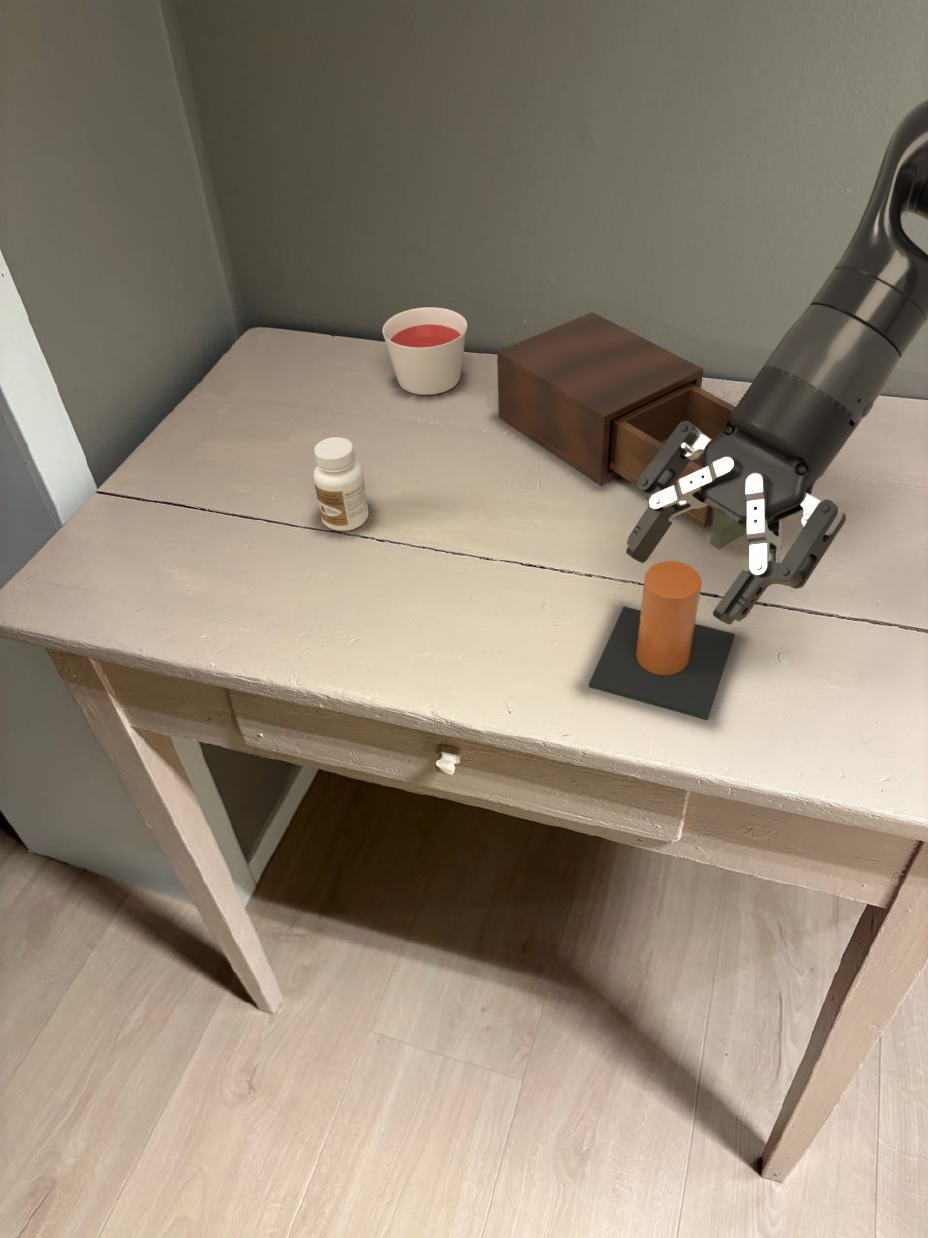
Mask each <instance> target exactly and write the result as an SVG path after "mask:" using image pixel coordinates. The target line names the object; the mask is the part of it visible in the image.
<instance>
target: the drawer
mask: <svg viewBox="0 0 928 1238" xmlns="http://www.w3.org/2000/svg"><path fill="white" fill-rule="evenodd" d="M735 407H736V406H735V405H733V404H731V403H730V402H727V401H725V400H724V399H722V398H720V397H718V396H716V395H714V394H713V393H710V391H709V392H708V391H707V390H705V389H703V388H702V387H701V388H699V387H697V386H696V385H694V384H692V383H689V384H687V385H685V386H683V387H681V388H679V389H677V390H675V391H673V392H671V393H669V394H666V395H664V396H662V397H660V398H658V399H656V400H654V401H652V402H650V403H648V404H646V405H644V406H642V407H640V408H638V409H636V410H634V411H632V412H629V413H627V414H625V415H623V416H621V417H619V418H617V419H615V420H613V424H612V438H611V452H610V469H611V470H613V471H614V472H616V473H617V474H619V477H622V478H624V479H625V480H626V481H628V482H630V483H631V484H633V485H634V486H636V487H637V481H638V479H639V477H640V476H641V474H642V473H643V472H644V470H645V469H646V468H647V466H648V465H649V464H650V462H651V461H652V460H653V458H654V457H655V456H656V454H657V453H658V452H659V450H660V449H661V447H662V446H663V445H664V443H665V442H666V441H667V439H668V438H669V437H670V435H671V434H672V433H673V431H674V430H675V429H676V427H677V426H678V425H679V423H680V422H682V421H685V420H687V421H690V422H691V423H692V424H693V425H694V426H696V427H697V428H698V429H699V430H700V431H701V432H703V433H704V434H705V435H706V436H707V437H709V438H710V439H714V438H715V437H717V436H718V435H719V434H721V433H722V432H723V430H724V429H725V427H726V425H727V422H728V419H729V417H730V415H731V413H732V412H733V410H734V409H735ZM701 469H703V454H701V455H700V457H699V458H698V459H695V460H691V461H690V462H689V463H688V465H687V466H686V467H685V469H684V470H683V471H682V473H681V474H680V475H679V477H678V478H677V479H676V481H677V480H679V479H681V478H683V477H685V476H687V475H690V474H692V473H694V472H696V471H698V470H701ZM676 481H675V482H674V483H673V485H675V483H676ZM673 485H672V486H673ZM680 515H681V516H682V517H684V518H685V519H687V520H689V521H690V522H691V523H693V524H695V525H696V526H698V527H699V528H700V529H703V530H706V529H707V528H708V527H710V526H711V530H710V535H709V541H708V543H709V545H711V546H713V547H714V548H716V549H717V550H719V551H720V550H721V549H723V548H725V547H727V546H728V545H730V544H731V543H733V542H735V541H737V540H739V539H740V538H742V537H744V536H745V535H747V530H746V529H745V528H743V527H742V526H740V525H739V524H737V523H736V522H734V521H733V520H732V519H730V518H729V517H728V516H725V515H722V514H721V513H719V512H717V511H716V510H714V509H713V508H711V507H710V506H709V505H708V506H705V507H703V508H700V509H691V510H689V511H686V512H684V513H682V514H680Z"/></svg>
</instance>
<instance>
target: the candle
mask: <svg viewBox="0 0 928 1238" xmlns="http://www.w3.org/2000/svg"><path fill="white" fill-rule="evenodd" d="M467 331H468V322H467V320H466V318H465V317H464V316H463V315H461V314H460V313H458V312H457V311H454V310H451V309H449V308H448V309H447V308H443V307H431V306H430V307H429V306H428V307H416V308H411V309H408V310H404V311H402V312H399V313H396V314H394V315H393V316H391V317H389V318H388V319H387V320H386V322H385V323H384V324H383V327H382V335H383V339H384V342H385V345H386V348H387V351H388V355H389V359H390V361H391V364H392V368H393V371H394V374H395V378H396V380H397V382H398V385H399V387H400V388H402V389H403V390H404V391H406V392H408V393H410V394H413V395H419V396H433V395H439V394H443V393H446V392H447V391H450V390H451V389H453V388H454V387H455V386H457V384H458V383H459V382H460V379H461V376H462V369H463V368H462V367H463V362H464V355H465V354H464V353H465V348H466V340H467V333H468V332H467Z"/></svg>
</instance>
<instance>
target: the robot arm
mask: <svg viewBox="0 0 928 1238" xmlns="http://www.w3.org/2000/svg"><path fill="white" fill-rule="evenodd" d="M908 214H911V215H915V216H916V217H918V218H920V219H923V220H924V221H927V222H928V98H927V97H926V98H925V99H923V100H922V101H920V102H919V103H917V104H916V105H915V106H914V107H913V108H911V109H910V110H909V111H907V112H906V114H904V116H903V117H902V119H901V120H900V121H899V123H897V126H896V127H895V128H894V130H893V133H892V134H891V137H890V139H889V141H888V144H887V146H886V149H885V151H884V155H883V157H882V160H881V164H880V166H879V170H878V172H877V176H876V178H875V181H874V185H873V188H872V190H871V193H870V196H869V198H868V201H867V205H866V207H865V209H864V211H863V214H862V216H861V218H860V221H859V223H858V225H857V227H856V229H855V232H854V234H853V235H852V238H851V239H850V240H849V243H848V245H847V247H846V249H845V250H844V252H843V254H842V256H841V257H840V258H839V260H838V262H837V263H836V265H835V267H834V268H833V270H832V271H831V272H830V273H829V275H828V277H827V278H826V279H825V281H824V282H823V284H822V286H821V287H820V289H818V292H817V293H816V294H815V296H814V297H813V298H812V300H811V301H810V303H809V305H807V307H806V309H805V310H804V312H803V313H802V314H801V315H800V316H799V318H798V319H796V321H795V322H794V323H793V324H792V325H791V327H790V328H789V329H788V330H787V331H786V332H785V334H784V335H783V337H782V338H781V339H780V341H779V342H778V343H777V345H776V346H775V348H774V350H773V351H772V352H771V354H770V356H768V359H767V360H766V361H765V363H764V364H763V366H762V367H761V369H760V370H759V372H758V373H757V375H756V376H755V378H754V380H753V381H752V382H751V383H750V385H749V386H748V388H747V389H746V391H745V392H744V394H743V396H742V397H741V398H740V400H739V401H738V403H737V404H736V406H735V409H734V410H733V412H732V413H731V415H730V417H729V419H728V422H727V425H726V427H725V429H724V430H723V432H722V433H721V434H719V435H718V436H717V437H715V438H714V439H710V438H709V437H707V436H706V435H705V434H704V433H703V432H701V431H700V430H699V429H698V428H697V427H696V426H694V425H693V424H692V423H691V422H690V421H687V420H685V421H682V422H680V423H679V425H678V426H677V427H676V429H675V430H674V431H673V433H672V434H671V435H670V437H669V438H668V439H667V441H666V442H665V443H664V445H663V446H662V447H661V449H660V450H659V452H658V453H657V454H656V456H655V457H654V458H653V460H652V461H651V462H650V464H649V465H648V466H647V468H646V469H645V470H644V472H643V473H642V474H641V476H640V477H639V479H638V481H637V486H636V487H637V488H638V490H640V491H641V492H642V494H643V495H644V497H645V498H646V500H647V502H648V504H647V508H646V510H645V512H644V513H643V515H642V516H641V517H640V519H639V520H638V522H637V524H636V525H635V526H634V527H633V530H632V531H631V532H630V534H629V535H628V537H627V539H626V540H627V541H626V545H627V547H626V550H625V554H626V555H628V556H629V557H630V558H632V559H633V560H635V561H637V562H639V563H641V564H643V563H645V562H647V561H648V560H649V558H650V557H651V555H652V554H653V552H654V551H655V549H656V548H657V547H658V545H659V543H660V542H661V541H662V539H663V538H664V536H665V535H666V533H667V532H668V530H669V529H670V528H671V526H672V524H673V522H672V521H670V519H673V518H674V517H678V516H679V515H681V514H682V513H684V512H686V511H689V510H691V509H700V508H703V507H705V506H708V505H709V506H710V507H711V508H713V509H714V510H716V511H717V512H719V513H721V514H722V515H725V516H728V517H729V518H730V519H732V520H733V521H734V522H736V523H737V524H739V525H740V526H742V527H743V528H745V529H746V530H747V534H746V537H747V542H748V545H749V569H748V570H744V569H742V570H741V571H740V573H739V574H738V575H737V577H736V578H735V580H734V581H733V582H732V583H731V585H730V587H729V588H728V590H727V591H726V593H724V595H723V597H722V598H721V599H720V601H719V602H718V604H717V605H716V606H715V608H714V609H713V611H712V616H713V617H715V618H716V619H717V620H719V621H720V622H722V623H724V624H725V625H730V626H731V624H733V623H734V622H735V621H737V622H741V621H743V620H744V619H746V617H748V615H749V613H750V612H751V610H752V609H753V608H754V606H755V605H756V603H757V602H758V601H759V600H760V598H761V597H762V595H763V594H764V593H765V592H766V590H767V588H768V587H770V586H772V585H780V586H781V585H782V586H786V587H790V588H792V589H794V590H798V589H799V590H800V589H802V588H803V587H804V586H805V585H806V583H807V582H808V580H809V579H810V577H811V576H812V574H813V572H814V571H815V569H816V568H817V566H818V565H819V563H820V562H821V560H822V558H823V557H824V555H825V554H826V552H827V550H828V549H829V547H830V546H831V545H832V543H833V541H834V540H835V538H836V537H837V535H838V534H839V532H840V530H841V529H842V527H843V526H844V524H845V522H846V519H847V515H846V514H845V512H844V511H843V510H842V508H841V507H840V506H838V505H837V504H836V503H834V502H833V501H832V500H830V499H823V500H822V499H820V498H818V497H817V496H814V495H812V491H813V488H814V485H815V484H816V483H817V481H818V480H819V479H820V478H821V477H822V476H823V475H824V474H825V472H826V471H827V470H828V468H829V467H830V465H831V464H832V462H833V461H834V460H835V458H836V457H837V455H838V454H839V452H840V451H841V450H842V448H843V447H844V445H845V444H846V443H847V442H848V440H849V438H850V437H851V435H852V434H853V433H854V431H856V429H857V427H858V426H859V424H860V423H861V421H862V420H863V419H864V418H865V417H867V416H868V415H869V413H870V412H871V410H872V409H873V406H874V403H875V402H876V401H877V399H878V398H879V397H880V394H881V393H882V392H883V390H884V389H885V387H886V385H887V383H888V381H889V379H890V377H891V376H892V374H893V372H894V370H895V368H896V366H897V365H898V363H899V362H900V359H902V357H903V356H904V354H905V353H906V352H907V350H908V348H909V347H910V346H911V345H912V343H913V341H914V340H915V339H916V338H917V336H918V334H919V333H920V332H921V330H922V329H923V328H924V326H925V324H927V322H928V253H927V252H926V251H925V250H924V249H923V248H922V247H920V246H919V245H918V244H917V243H916V242H915V241H914V240H913V239H911V237H910V235H908V234H907V232H906V231H905V229H904V226H903V222H904V220H905V219H906V217H907V216H908ZM701 454H703V469H701V470H698V471H696V472H694V473H692V474H690V475H687V476H685V477H683V478H681V479H679V480H677V481H676V479H677V478H678V477H679V475H680V474H681V473H682V471H683V470H684V469H685V467H686V466H687V465H688V463H689V462H690V461H691V460H695V459H698V458H699V457H700V455H701ZM675 481H676V483H675V485H673V483H674V482H675ZM672 485H673V486H672ZM802 511H803V513H802V514H803V515H802V517H801V520H800V522H801V525H802V526H803V527H802V528H801V530H800V532H799V533H798V535H797V537H795V539H794V541H793V542H792V544H791V546H790V548H789V549H788V551H787V552H786V554H785V555H784V557H783V559H782V560H781V559H780V551H781V549H782V548H783V520H784V519H786V518H788V517H790V516H793V515H795V514H797V513H800V512H802Z"/></svg>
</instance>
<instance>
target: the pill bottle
mask: <svg viewBox="0 0 928 1238" xmlns="http://www.w3.org/2000/svg"><path fill="white" fill-rule="evenodd" d="M313 453H314V460H315V463H316V467H314V470H313V476H312V477H313V482H314V488H315V493H316V498H317V503H318V509H319V512H320V518H321V522H322V524H323V525H324V526H325V527H327V528H329V529H331V530H333V531H336V532H337V531H339V532H347V531H352V530H355V529H357V528H359V527H361V526H362V525H363V524H364V523H365V522H367V520H368V518H369V506H368V505H369V504H368V497H367V491H366V485H365V478H364V472H363V468H362V466H361V464H360V462H359V461H357V460H356V453H355V448H354V443H352V441H351V440H350V439H347V438H346V437H339V436H334V437H333V436H332V437H327V438H325V439H322V440H320V441H319V442H318V443H316V445H315V446H314V449H313Z"/></svg>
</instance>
